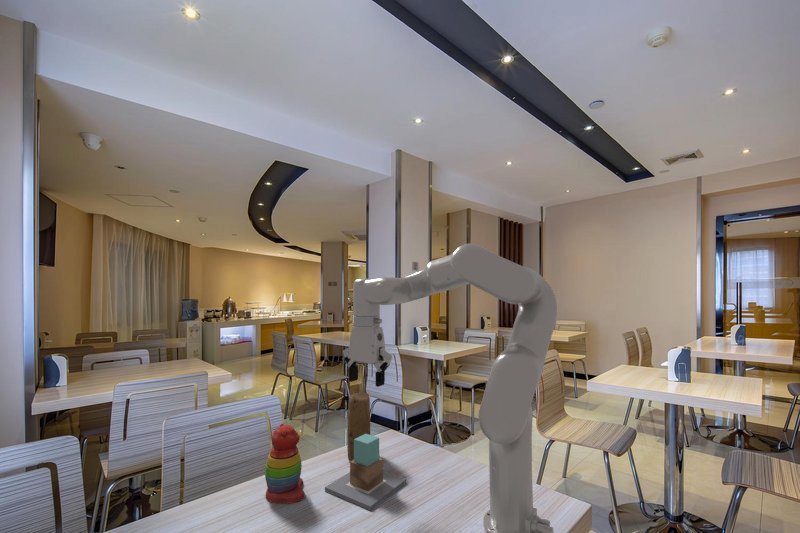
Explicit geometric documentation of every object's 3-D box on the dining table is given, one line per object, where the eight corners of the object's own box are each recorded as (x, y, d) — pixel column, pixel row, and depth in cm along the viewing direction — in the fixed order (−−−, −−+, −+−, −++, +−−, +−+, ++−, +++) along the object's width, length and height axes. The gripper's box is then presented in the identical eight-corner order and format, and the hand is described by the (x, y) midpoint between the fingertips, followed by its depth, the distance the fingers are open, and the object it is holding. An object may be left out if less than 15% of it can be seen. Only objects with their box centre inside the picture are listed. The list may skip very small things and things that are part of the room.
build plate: (406, 482, 105) (406, 478, 105) (370, 510, 92) (370, 506, 92) (363, 467, 114) (363, 463, 114) (324, 490, 101) (324, 486, 101)
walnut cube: (383, 480, 104) (382, 458, 104) (368, 491, 99) (368, 468, 99) (365, 474, 108) (365, 453, 108) (349, 484, 102) (350, 461, 103)
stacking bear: (305, 501, 96) (306, 430, 97) (263, 508, 93) (264, 435, 94) (302, 480, 107) (303, 417, 108) (265, 486, 104) (266, 421, 105)
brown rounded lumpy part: (370, 463, 117) (370, 398, 118) (346, 464, 116) (346, 399, 117) (370, 448, 128) (370, 389, 129) (348, 449, 127) (348, 390, 128)
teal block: (379, 459, 104) (379, 437, 104) (367, 466, 100) (367, 443, 100) (365, 455, 107) (365, 433, 107) (353, 461, 103) (353, 439, 103)
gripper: (398, 322, 104) (399, 384, 103) (352, 319, 114) (352, 376, 113) (382, 324, 98) (382, 390, 97) (335, 321, 108) (334, 381, 107)
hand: (366, 383), depth 105 cm, fingers open, 9 cm apart
